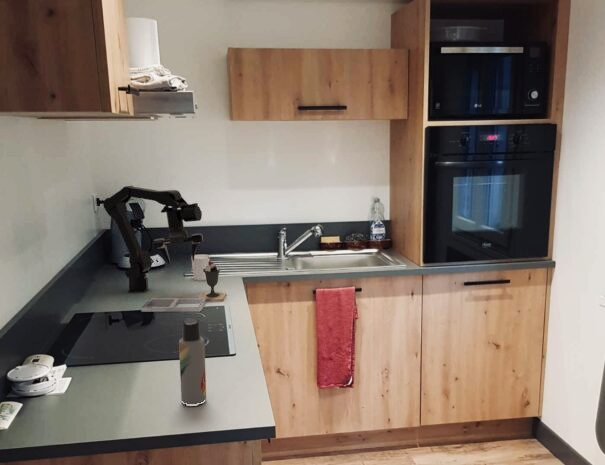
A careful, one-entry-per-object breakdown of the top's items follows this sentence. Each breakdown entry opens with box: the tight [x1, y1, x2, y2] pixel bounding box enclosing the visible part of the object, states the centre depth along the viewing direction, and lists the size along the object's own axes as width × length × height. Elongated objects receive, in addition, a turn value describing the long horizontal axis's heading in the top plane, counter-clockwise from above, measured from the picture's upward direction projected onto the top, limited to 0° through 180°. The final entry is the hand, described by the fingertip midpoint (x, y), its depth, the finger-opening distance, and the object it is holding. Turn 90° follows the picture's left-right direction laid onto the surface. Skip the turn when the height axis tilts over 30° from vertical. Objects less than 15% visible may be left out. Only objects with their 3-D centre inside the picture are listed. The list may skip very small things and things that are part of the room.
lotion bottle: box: [178, 316, 207, 404], centre depth 126 cm, size 6×6×20 cm
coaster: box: [198, 291, 227, 303], centre depth 209 cm, size 9×9×1 cm
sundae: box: [203, 257, 221, 297], centre depth 208 cm, size 7×7×15 cm
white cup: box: [191, 254, 211, 282], centre depth 237 cm, size 8×8×10 cm
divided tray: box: [140, 298, 207, 313], centre depth 198 cm, size 21×11×2 cm, turn 89°
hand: (181, 262), depth 214 cm, fingers open, 9 cm apart
